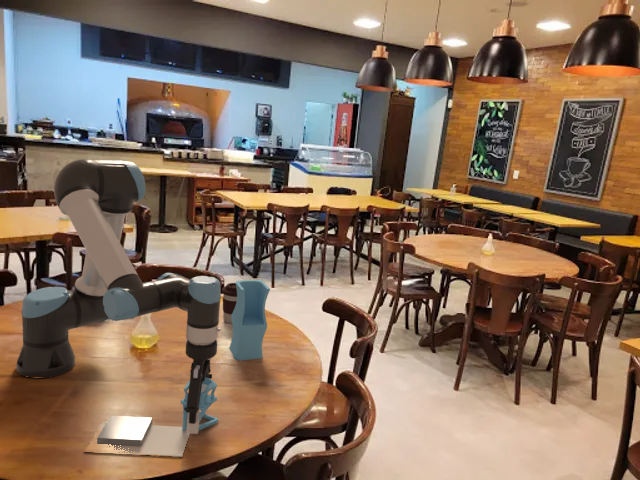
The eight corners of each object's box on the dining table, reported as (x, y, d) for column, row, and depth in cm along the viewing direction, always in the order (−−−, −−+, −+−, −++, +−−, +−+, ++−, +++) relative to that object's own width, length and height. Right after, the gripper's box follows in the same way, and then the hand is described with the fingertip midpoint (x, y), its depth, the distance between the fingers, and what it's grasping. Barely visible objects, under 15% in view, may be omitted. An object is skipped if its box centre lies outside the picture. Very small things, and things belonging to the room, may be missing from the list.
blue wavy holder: (235, 360, 157) (241, 289, 152) (229, 348, 166) (234, 280, 161) (264, 358, 161) (270, 288, 156) (256, 345, 170) (261, 279, 165)
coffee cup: (249, 321, 192) (252, 285, 189) (233, 327, 184) (235, 291, 180) (231, 314, 197) (234, 279, 194) (214, 320, 189) (217, 284, 185)
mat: (83, 452, 107) (83, 451, 107) (102, 423, 117) (102, 422, 117) (182, 457, 109) (182, 456, 109) (191, 428, 119) (191, 427, 119)
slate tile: (111, 421, 118) (97, 444, 109) (111, 415, 118) (97, 437, 109) (152, 423, 119) (141, 446, 110) (152, 417, 119) (141, 440, 110)
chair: (174, 427, 118) (178, 383, 116) (193, 413, 126) (197, 371, 124) (200, 437, 116) (204, 391, 114) (218, 421, 123) (223, 379, 122)
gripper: (209, 363, 104) (204, 448, 108) (224, 321, 128) (219, 391, 133) (174, 361, 103) (170, 447, 108) (196, 319, 128) (192, 390, 132)
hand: (197, 416), depth 120 cm, fingers open, 13 cm apart
